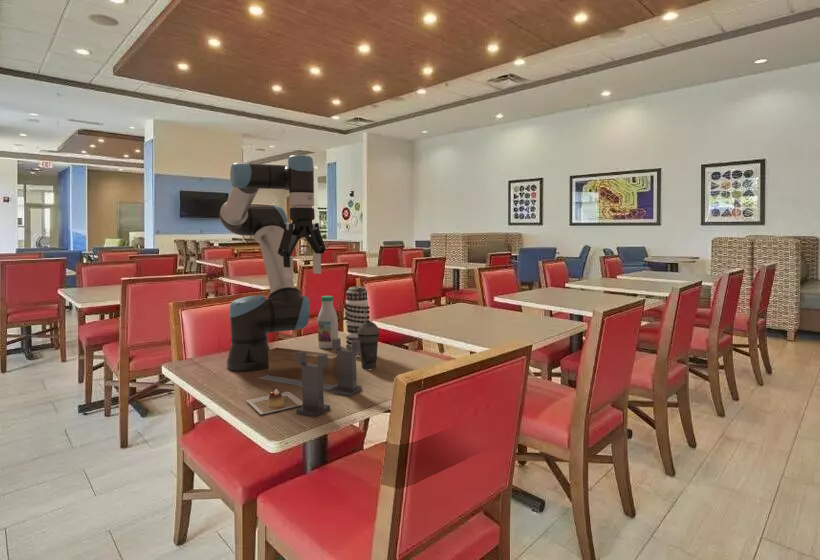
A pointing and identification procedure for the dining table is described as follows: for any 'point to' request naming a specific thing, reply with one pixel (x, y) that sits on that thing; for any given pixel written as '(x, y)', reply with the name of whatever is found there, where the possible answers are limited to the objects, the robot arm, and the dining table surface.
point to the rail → (286, 365)
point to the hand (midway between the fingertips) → (303, 275)
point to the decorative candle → (355, 313)
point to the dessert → (275, 401)
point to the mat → (294, 381)
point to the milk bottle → (327, 323)
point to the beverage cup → (368, 343)
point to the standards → (314, 378)
